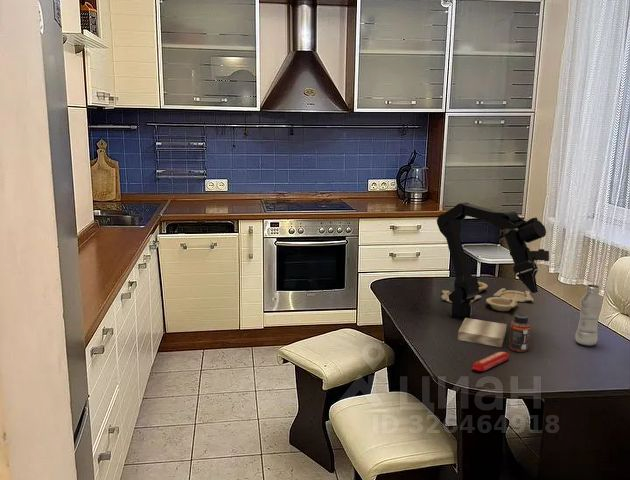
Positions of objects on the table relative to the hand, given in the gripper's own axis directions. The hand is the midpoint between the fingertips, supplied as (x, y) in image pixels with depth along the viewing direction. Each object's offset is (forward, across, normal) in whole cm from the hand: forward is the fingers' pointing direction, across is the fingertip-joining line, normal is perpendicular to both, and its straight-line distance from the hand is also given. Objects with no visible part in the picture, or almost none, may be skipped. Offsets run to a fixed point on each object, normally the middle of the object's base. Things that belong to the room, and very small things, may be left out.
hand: (535, 292), depth 185 cm
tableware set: (-4, +43, +22) cm, 48 cm away
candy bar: (+17, -18, +18) cm, 31 cm away
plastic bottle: (+21, +12, -8) cm, 25 cm away
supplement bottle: (+16, -3, +11) cm, 19 cm away
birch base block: (+8, +3, +21) cm, 23 cm away
